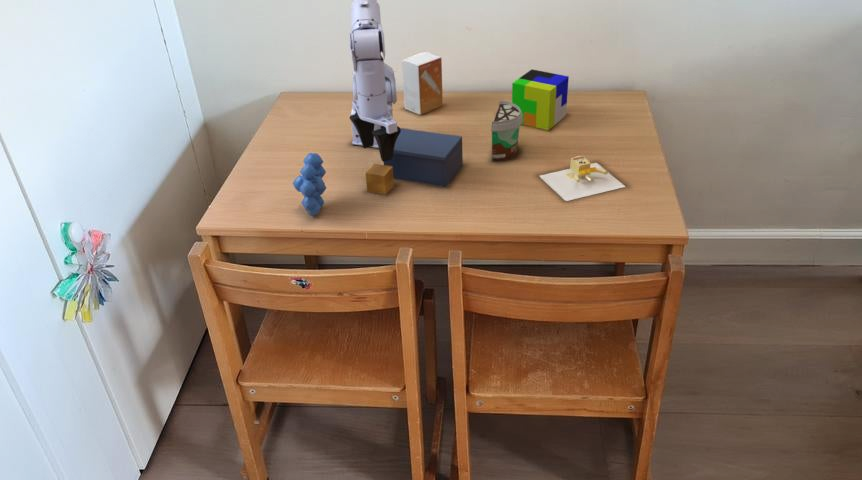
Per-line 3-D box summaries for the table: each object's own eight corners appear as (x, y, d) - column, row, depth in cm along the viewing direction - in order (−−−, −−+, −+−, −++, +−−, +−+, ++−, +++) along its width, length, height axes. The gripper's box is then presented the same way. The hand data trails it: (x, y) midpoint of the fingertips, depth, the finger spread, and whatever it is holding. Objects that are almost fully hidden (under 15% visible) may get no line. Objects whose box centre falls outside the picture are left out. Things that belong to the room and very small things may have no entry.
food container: (518, 165, 170) (519, 124, 164) (491, 164, 171) (491, 122, 165) (524, 141, 180) (526, 101, 174) (499, 139, 181) (499, 99, 175)
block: (367, 192, 163) (365, 172, 160) (375, 182, 166) (374, 163, 163) (386, 195, 161) (384, 175, 159) (394, 185, 165) (392, 166, 162)
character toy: (579, 174, 158) (560, 158, 164) (578, 188, 160) (560, 172, 166) (612, 166, 160) (593, 151, 166) (611, 180, 162) (592, 164, 168)
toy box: (447, 187, 163) (446, 160, 160) (384, 177, 168) (382, 151, 164) (462, 165, 171) (462, 140, 167) (403, 156, 175) (401, 131, 172)
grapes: (303, 194, 163) (295, 143, 156) (334, 195, 162) (327, 143, 155) (289, 223, 154) (279, 170, 146) (322, 224, 153) (314, 171, 146)
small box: (420, 115, 193) (418, 65, 185) (404, 108, 197) (400, 59, 189) (443, 105, 197) (442, 56, 190) (427, 99, 201) (424, 50, 193)
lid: (444, 160, 159) (444, 157, 158) (380, 151, 163) (380, 148, 163) (462, 139, 167) (462, 136, 167) (401, 131, 172) (401, 127, 171)
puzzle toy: (566, 115, 191) (568, 76, 185) (548, 130, 184) (550, 90, 178) (530, 107, 195) (531, 69, 189) (511, 121, 188) (512, 83, 182)
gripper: (408, 97, 147) (412, 160, 156) (370, 75, 157) (376, 135, 165) (377, 106, 144) (382, 170, 153) (340, 83, 154) (347, 144, 162)
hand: (377, 153), depth 159 cm, fingers open, 7 cm apart
